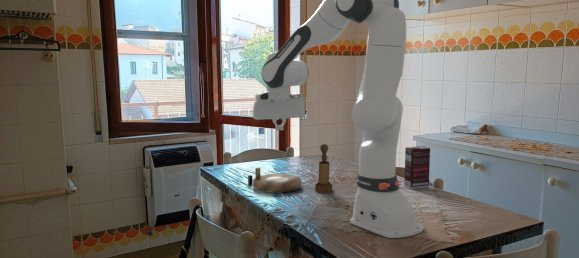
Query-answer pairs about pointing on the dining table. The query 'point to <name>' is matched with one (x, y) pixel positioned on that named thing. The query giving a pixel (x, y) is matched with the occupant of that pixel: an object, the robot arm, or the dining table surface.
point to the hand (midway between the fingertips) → (279, 130)
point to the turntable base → (250, 180)
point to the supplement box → (417, 167)
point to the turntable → (275, 182)
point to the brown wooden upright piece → (323, 173)
